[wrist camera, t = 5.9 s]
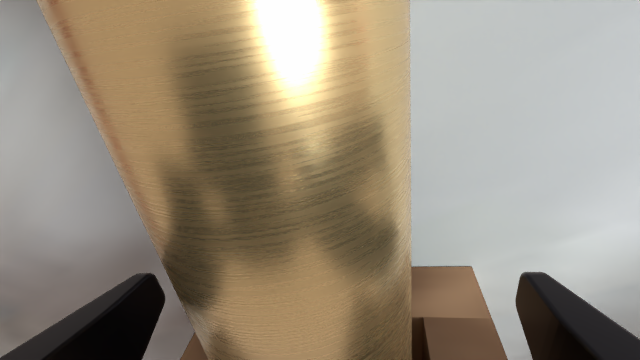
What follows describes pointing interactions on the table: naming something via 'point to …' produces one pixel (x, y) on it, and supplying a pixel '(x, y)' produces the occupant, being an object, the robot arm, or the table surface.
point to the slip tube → (262, 162)
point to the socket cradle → (437, 318)
